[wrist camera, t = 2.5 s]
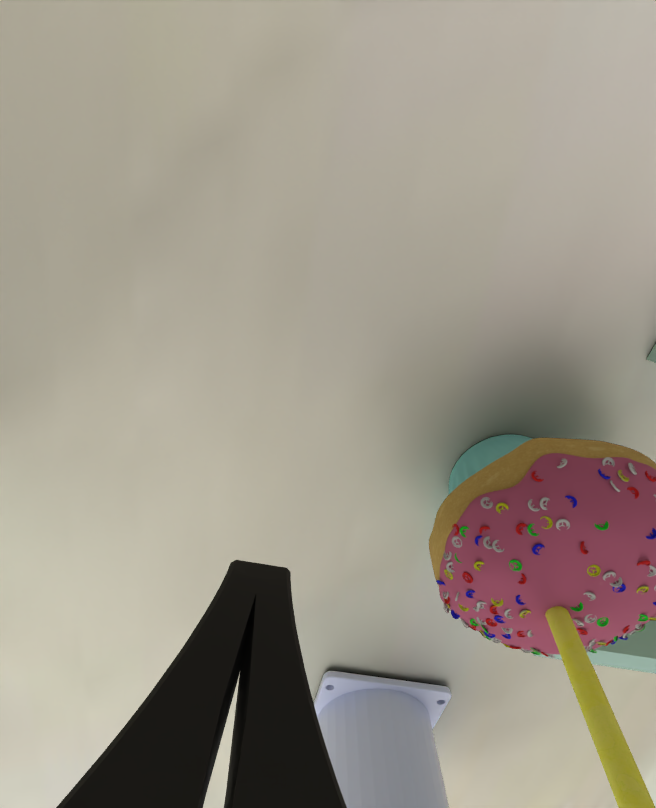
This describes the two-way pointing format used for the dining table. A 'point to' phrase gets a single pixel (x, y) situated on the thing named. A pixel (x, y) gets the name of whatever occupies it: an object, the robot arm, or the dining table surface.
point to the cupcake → (554, 563)
